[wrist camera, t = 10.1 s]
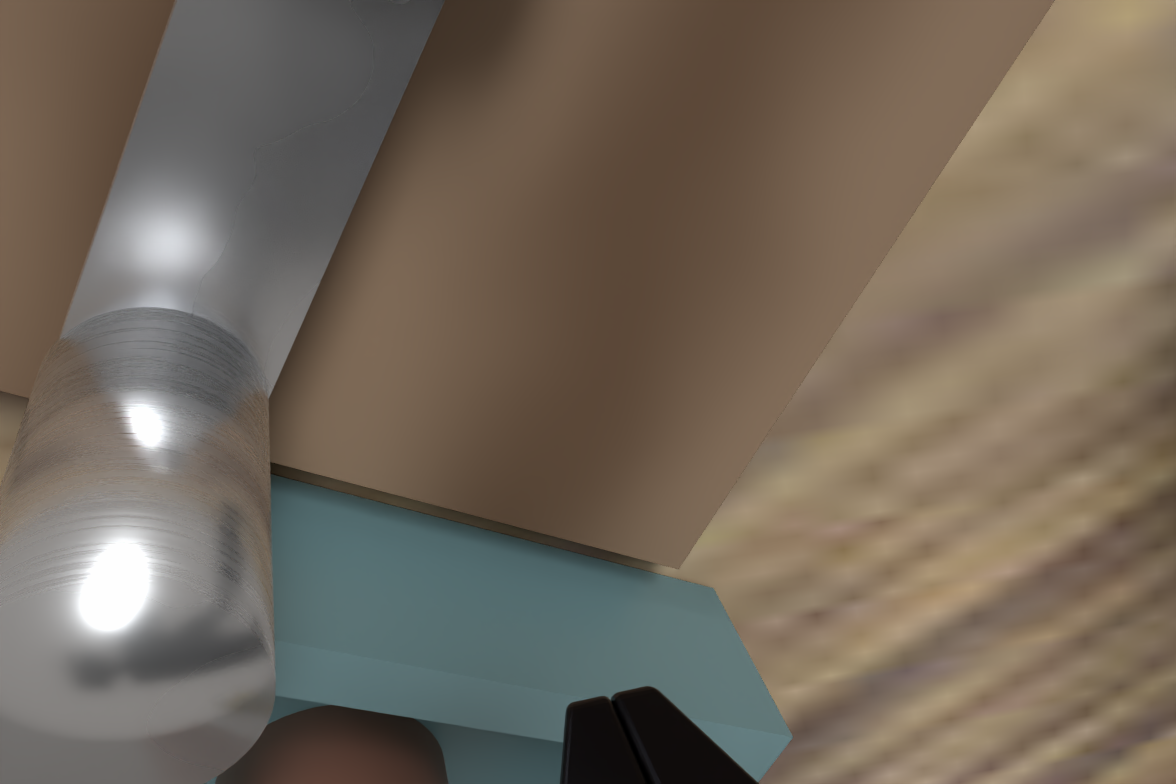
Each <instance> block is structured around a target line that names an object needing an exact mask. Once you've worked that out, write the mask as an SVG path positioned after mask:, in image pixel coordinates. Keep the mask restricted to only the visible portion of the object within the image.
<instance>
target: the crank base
mask: <svg viewBox="0 0 1176 784" xmlns="http://www.w3.org/2000/svg"><path fill="white" fill-rule="evenodd" d="M1054 1H1055V0H445V1H444V4H443V6H442V8H441V10H440V13H439V15H438V17H437V20H436V22H435V24H434V26H433V29H432V31H431V33H430V35H429V38H428V40H427V42H426V44H425V47H424V49H423V51H422V53H421V56H420V58H419V60H418V62H417V65H416V67H415V69H414V71H413V74H412V76H411V78H410V81H409V83H408V85H407V87H406V90H405V92H404V94H403V96H402V99H401V101H400V103H399V105H398V108H397V110H396V112H395V114H394V117H393V119H392V121H391V123H390V126H389V128H388V130H387V133H386V135H385V137H384V139H383V142H382V144H381V146H380V148H379V151H378V153H377V155H376V157H375V160H374V162H373V164H372V166H371V169H370V171H369V173H368V175H367V178H366V180H365V182H364V184H363V187H362V189H361V191H360V194H359V196H358V198H357V200H356V203H355V205H354V207H353V209H352V212H351V214H350V216H349V218H348V221H347V223H346V225H345V227H344V230H343V232H342V234H341V236H340V239H339V241H338V243H337V246H336V248H335V250H334V252H333V255H332V257H331V259H330V261H329V264H328V266H327V268H326V270H325V273H324V275H323V277H322V279H321V282H320V284H319V286H318V288H317V291H316V293H315V295H314V297H313V300H312V302H311V304H310V307H309V309H308V311H307V313H306V316H305V318H304V320H303V322H302V325H301V327H300V329H299V331H298V334H297V336H296V338H295V340H294V343H293V345H292V347H291V349H290V352H289V354H288V356H287V359H286V361H285V363H284V365H283V368H282V370H281V372H280V374H279V377H278V379H277V381H276V383H275V386H274V388H273V390H272V392H271V395H270V397H269V399H268V400H269V440H270V462H273V463H276V464H280V465H284V466H288V467H292V468H295V469H299V470H303V471H307V472H311V473H314V474H318V475H322V476H326V477H330V478H333V479H337V480H341V481H345V482H349V483H352V484H356V485H360V486H364V487H368V488H371V489H375V490H379V491H383V492H387V493H390V494H394V495H398V496H402V497H406V498H409V499H413V500H417V501H421V502H425V503H428V504H432V505H436V506H440V507H444V508H447V509H451V510H455V511H459V512H463V513H466V514H470V515H474V516H478V517H481V518H485V519H489V520H493V521H497V522H500V523H504V524H508V525H512V526H516V527H519V528H523V529H527V530H531V531H535V532H538V533H542V534H546V535H550V536H554V537H557V538H561V539H565V540H569V541H573V542H576V543H580V544H584V545H588V546H592V547H595V548H599V549H603V550H607V551H611V552H614V553H618V554H622V555H626V556H630V557H633V558H637V559H641V560H645V561H649V562H652V563H656V564H660V565H664V566H668V567H671V568H675V569H679V568H680V566H681V565H682V563H683V562H684V560H685V559H686V557H687V556H688V554H689V553H690V551H691V550H692V548H693V547H694V545H695V544H696V542H697V541H698V539H699V538H700V536H701V535H702V533H703V532H704V530H705V529H706V527H707V526H708V524H709V523H710V521H711V520H712V518H713V516H714V515H715V513H716V512H717V510H718V509H719V507H720V506H721V504H722V503H723V501H724V500H725V498H726V497H727V495H728V494H729V492H730V491H731V489H732V488H733V486H734V485H735V483H736V482H737V480H738V479H739V477H740V476H741V474H742V473H743V471H744V470H745V468H746V467H747V465H748V464H749V462H750V461H751V459H752V458H753V456H754V454H755V453H756V451H757V450H758V448H759V447H760V445H761V444H762V442H763V441H764V439H765V438H766V436H767V435H768V433H769V432H770V430H771V429H772V427H773V426H774V424H775V423H776V421H777V420H778V418H779V417H780V415H781V414H782V412H783V411H784V409H785V408H786V406H787V405H788V403H789V402H790V400H791V399H792V397H793V396H794V394H795V392H796V391H797V389H798V388H799V386H800V385H801V383H802V382H803V380H804V379H805V377H806V376H807V374H808V373H809V371H810V370H811V368H812V367H813V365H814V364H815V362H816V361H817V359H818V358H819V356H820V355H821V353H822V352H823V350H824V349H825V347H826V346H827V344H828V343H829V341H830V340H831V338H832V337H833V335H834V334H835V332H836V330H837V329H838V327H839V326H840V324H841V323H842V321H843V320H844V318H845V317H846V315H847V314H848V312H849V311H850V309H851V308H852V306H853V305H854V303H855V302H856V300H857V299H858V297H859V296H860V294H861V293H862V291H863V290H864V288H865V287H866V285H867V284H868V282H869V281H870V279H871V278H872V276H873V275H874V273H875V271H876V270H877V268H878V267H879V265H880V264H881V262H882V261H883V259H884V258H885V256H886V255H887V253H888V252H889V250H890V249H891V247H892V246H893V244H894V243H895V241H896V240H897V238H898V237H899V235H900V234H901V232H902V231H903V229H904V228H905V226H906V225H907V223H908V222H909V220H910V219H911V217H912V216H913V214H914V213H915V211H916V209H917V208H918V206H919V205H920V203H921V202H922V200H923V199H924V197H925V196H926V194H927V193H928V191H929V190H930V188H931V187H932V185H933V184H934V182H935V181H936V179H937V178H938V176H939V175H940V173H941V172H942V170H943V169H944V167H945V166H946V164H947V163H948V161H949V160H950V158H951V157H952V155H953V154H954V152H955V151H956V149H957V147H958V146H959V144H960V143H961V141H962V140H963V138H964V137H965V135H966V134H967V132H968V131H969V129H970V128H971V126H972V125H973V123H974V122H975V120H976V119H977V117H978V116H979V114H980V113H981V111H982V110H983V108H984V107H985V105H986V104H987V102H988V101H989V99H990V98H991V96H992V95H993V93H994V92H995V90H996V89H997V87H998V85H999V84H1000V82H1001V81H1002V79H1003V78H1004V76H1005V75H1006V73H1007V72H1008V70H1009V69H1010V67H1011V66H1012V64H1013V63H1014V61H1015V60H1016V58H1017V57H1018V55H1019V54H1020V52H1021V51H1022V49H1023V48H1024V46H1025V45H1026V43H1027V42H1028V40H1029V39H1030V37H1031V36H1032V34H1033V33H1034V31H1035V30H1036V28H1037V26H1038V25H1039V23H1040V22H1041V20H1042V19H1043V17H1044V16H1045V14H1046V13H1047V11H1048V10H1049V8H1050V7H1051V5H1052V4H1053V2H1054ZM174 2H175V0H0V391H3V392H7V393H11V394H14V395H18V396H22V397H26V398H30V395H31V392H32V389H33V386H34V383H35V380H36V377H37V374H38V371H39V368H40V366H41V364H42V362H43V359H44V357H45V356H46V354H47V353H48V351H49V350H50V348H51V347H52V346H53V345H54V343H55V342H56V341H57V340H58V339H59V336H60V333H61V330H62V327H63V324H64V320H65V317H66V314H67V311H68V308H69V305H70V303H71V300H72V297H73V294H74V291H75V288H76V285H77V282H78V279H79V277H80V274H81V271H82V268H83V265H84V262H85V259H86V256H87V253H88V251H89V248H90V245H91V242H92V239H93V236H94V233H95V230H96V227H97V224H98V222H99V219H100V216H101V213H102V210H103V207H104V204H105V201H106V198H107V196H108V193H109V190H110V187H111V184H112V181H113V178H114V175H115V172H116V170H117V167H118V164H119V161H120V158H121V155H122V152H123V149H124V146H125V143H126V141H127V138H128V135H129V132H130V129H131V126H132V123H133V120H134V117H135V115H136V112H137V109H138V106H139V103H140V100H141V97H142V94H143V91H144V88H145V86H146V83H147V80H148V77H149V74H150V71H151V68H152V65H153V62H154V60H155V57H156V54H157V51H158V48H159V45H160V42H161V39H162V36H163V34H164V31H165V28H166V25H167V22H168V19H169V16H170V13H171V10H172V7H173V5H174Z"/></svg>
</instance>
